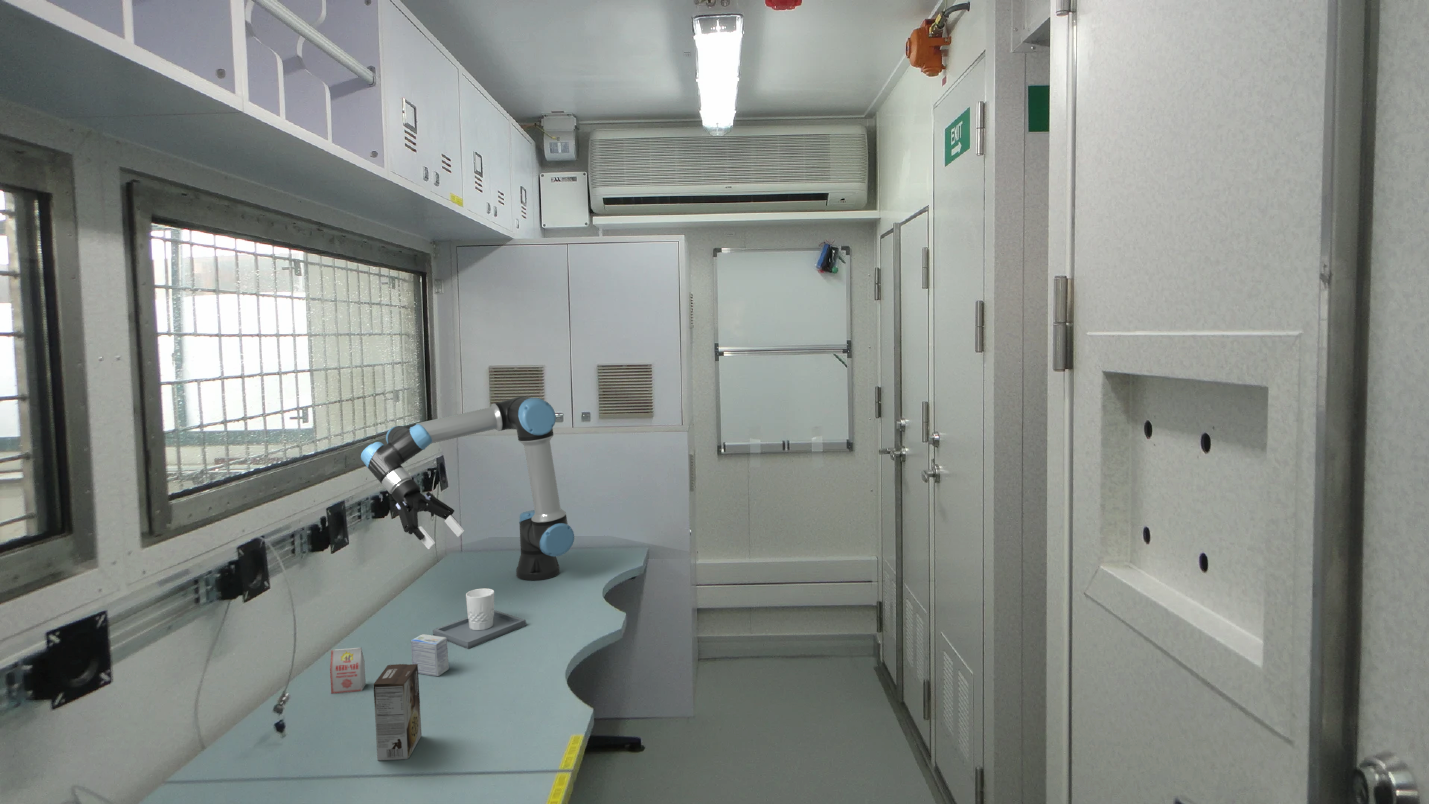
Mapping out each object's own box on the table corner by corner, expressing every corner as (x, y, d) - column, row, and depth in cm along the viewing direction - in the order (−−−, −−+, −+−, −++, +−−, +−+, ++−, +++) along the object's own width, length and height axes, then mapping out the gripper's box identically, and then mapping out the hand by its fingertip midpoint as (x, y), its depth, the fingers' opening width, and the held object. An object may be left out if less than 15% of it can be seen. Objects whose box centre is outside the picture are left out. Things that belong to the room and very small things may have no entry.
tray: (491, 614, 231) (490, 608, 231) (525, 625, 222) (525, 619, 221) (433, 635, 215) (432, 629, 215) (467, 648, 205) (467, 642, 205)
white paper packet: (336, 686, 184) (333, 647, 183) (365, 684, 185) (363, 644, 184) (331, 693, 180) (329, 653, 179) (361, 691, 182) (359, 650, 181)
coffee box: (391, 737, 160) (387, 664, 159) (422, 735, 161) (419, 662, 159) (375, 761, 151) (371, 683, 150) (408, 759, 152) (405, 682, 150)
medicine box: (449, 669, 193) (447, 637, 192) (437, 677, 188) (436, 643, 188) (424, 665, 195) (422, 633, 194) (411, 673, 191) (410, 640, 190)
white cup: (499, 621, 224) (498, 588, 223) (489, 631, 216) (488, 597, 215) (473, 620, 224) (472, 588, 223) (462, 631, 216) (461, 597, 215)
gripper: (422, 487, 237) (465, 537, 234) (364, 504, 213) (411, 560, 210) (436, 471, 235) (479, 521, 232) (378, 486, 211) (426, 543, 208)
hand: (447, 540), depth 221 cm, fingers open, 13 cm apart
